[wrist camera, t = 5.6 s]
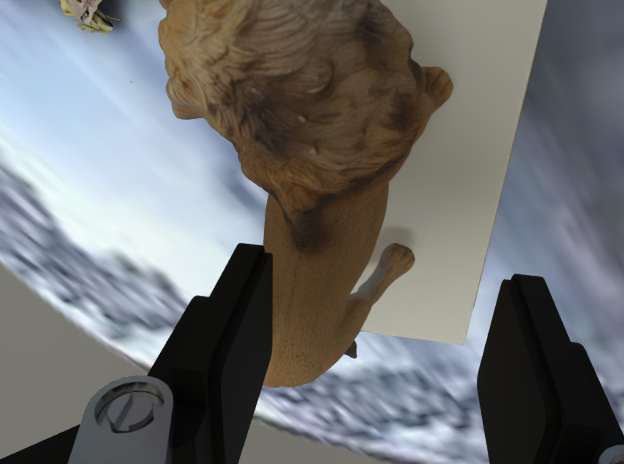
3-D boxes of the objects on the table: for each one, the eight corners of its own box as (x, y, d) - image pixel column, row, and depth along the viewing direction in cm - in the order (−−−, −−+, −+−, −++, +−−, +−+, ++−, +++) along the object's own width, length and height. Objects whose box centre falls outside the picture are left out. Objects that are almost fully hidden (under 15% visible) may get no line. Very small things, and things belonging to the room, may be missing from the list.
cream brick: (528, -45, 18) (556, -40, 15) (456, 288, 25) (464, 345, 22) (297, -57, 19) (273, -54, 15) (290, 268, 26) (272, 319, 22)
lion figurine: (295, -64, 16) (48, -82, 8) (480, -69, 14) (364, -98, 6) (302, 331, 22) (168, 510, 15) (426, 366, 20) (340, 592, 13)
